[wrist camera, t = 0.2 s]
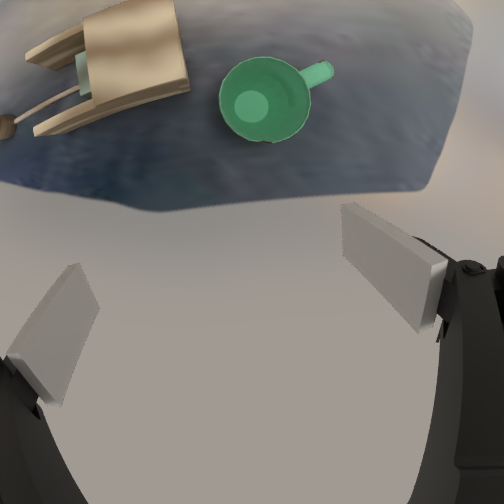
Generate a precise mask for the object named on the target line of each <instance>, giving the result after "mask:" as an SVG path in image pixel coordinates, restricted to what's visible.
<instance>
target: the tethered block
mask: <svg viewBox="0 0 504 504" xmlns="http://www.w3.org/2000/svg"><path fill="white" fill-rule="evenodd" d="M75 60H76V69H77V76H78V83H79V85H77V86H75V87H73V88H70V89H68V90H66V91H64V92H62V93H60V94H58V95H56V96H54V97H52V98H50V99H49V100H47V101H45V102H43V103H41V104H39V105H38V106H36V107H34V108H32V109H31V110H29V111H27V112H26V113H24V114H22V115H21V116H19V117H18V118H15V117H14V116H13V115H0V140H3V139H9V138H11V137H12V136H13V135H14V133H15V131H16V128H17V123H19V122H20V121H22V120H24V119H25V118H27V117H29V116H30V115H32V114H34V113H35V112H37V111H39V110H41V109H43V108H44V107H46V106H48V105H50V104H52V103H54V102H56V101H58V100H60V99H62V98H64V97H66V96H68V95H70V94H72V93H74V92H77V91H79V90H80V96H82V97H87V98H91V99H92V93H91V87H90V81H89V74H88V66H87V59H86V51H84V52H82V53H79V54H77V55H75Z"/></svg>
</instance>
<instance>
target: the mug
mask: <svg viewBox="0 0 504 504" xmlns="http://www.w3.org/2000/svg"><path fill="white" fill-rule="evenodd" d="M333 76H334V69H333V67H332V65H331V64H330V63H329V62H327V61H324V60H323V61H320V62H318V63H316V64H313V65H311V66H309V67H307V68H305V69H303V70H301V71H299V72H298V70H297V69H296V68H295V67H293V66H291V65H290V64H288V63H287V62H285V61H283V60H280V59H276V58H273V57H253V58H250V59H247V60H244V61H242V62H240V63H239V64H237V65H236V66H235V67H233V68H232V69H231V70H230V71H229V72H228V74H227V75H226V77H225V78H224V80H223V81H222V84H221V88H220V92H219V96H218V97H219V107H220V112H221V114H222V116H223V118H224V120H225V122H226V124H227V125H228V126H229V127H230V128H231V129H232V130H233V131H234V132H235V133H236V134H238V135H239V136H241V137H243V138H245V139H247V140H249V141H254V142H259V143H260V142H266V143H278V142H280V141H283V140H285V139H288V138H290V137H292V136H293V135H294V134H295V133H297V132H298V131H299V130H300V129H301V128H302V126H303V125H304V123H305V122H306V120H307V119H308V116H309V112H310V108H311V96H310V90H309V89H310V88H312V87H314V86H316V85H318V84H320V83H322V82H324V81H327V80H329V79H331V78H333Z"/></svg>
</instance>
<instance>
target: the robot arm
mask: <svg viewBox="0 0 504 504" xmlns="http://www.w3.org/2000/svg"><path fill="white" fill-rule="evenodd" d="M341 213H342V238H343V256H344V257H345V258H346V259H347V260H348V261H349V262H350V263H351V264H352V265H353V266H354V267H355V268H356V269H357V270H358V271H359V272H360V273H361V274H362V275H363V276H364V277H365V278H366V279H367V280H368V281H369V282H370V283H371V284H372V285H373V286H374V287H375V288H376V289H377V290H378V291H379V292H380V293H381V295H382V296H383V297H384V298H385V299H386V300H387V301H388V302H389V303H390V304H391V305H392V306H393V307H394V308H395V309H396V310H397V311H398V313H399V314H400V315H401V316H402V317H403V318H404V319H405V320H406V321H407V322H408V323H409V324H410V325H411V327H412V328H413V329H414V330H415V331H416V332H417V333H418V334H419V333H421V332H423V331H425V330H427V329H429V328H431V327H433V325H434V322H435V318H436V314H438V315H440V316H441V318H442V319H443V320H442V324H441V327H440V331H439V334H438V337H437V340H436V342H439V340H440V353H439V367H438V376H437V385H436V394H435V400H434V407H433V413H432V419H431V424H430V430H429V434H428V439H427V443H426V448H425V452H424V455H423V459H422V463H421V467H420V470H419V474H418V477H417V481H416V483H415V486H414V490H413V492H412V495H411V498H410V500H409V502H408V503H407V504H504V256H501V257H500V258H499V259H498V264H497V268H496V269H491V270H487V269H486V267H484V266H483V265H482V264H480V263H478V262H476V261H472V260H462V261H459V262H456V261H455V260H453V259H452V258H450V257H449V256H447V255H446V254H444V253H443V252H441V251H440V250H437V248H435V247H434V246H431V245H430V244H429V243H427V242H425V241H424V240H422V239H420V238H417V237H414V236H411V235H409V234H408V233H406V232H404V231H403V230H401V229H400V228H398V227H396V226H395V225H393V224H391V223H390V222H388V221H386V220H385V219H383V218H381V217H379V216H378V215H376V214H374V213H372V212H371V211H369V210H367V209H365V208H364V207H362V206H360V205H358V204H356V203H349V204H343V205H341ZM99 310H100V307H99V305H98V303H97V301H96V299H95V296H94V294H93V292H92V290H91V288H90V285H89V283H88V281H87V279H86V276H85V274H84V272H83V269H82V267H81V264H80V263H77V264H73V265H70V266H68V267H67V268H66V269H65V270H64V272H63V273H62V274H61V275H60V277H59V278H58V279H57V280H56V282H55V283H54V284H53V286H52V287H51V288H50V289H49V291H48V292H47V293H46V295H45V296H44V298H43V299H42V300H41V302H40V303H39V304H38V306H37V307H36V308H35V310H34V311H33V313H32V314H31V316H30V317H29V318H28V320H27V321H26V323H25V324H24V326H23V328H22V329H21V330H20V332H19V333H18V335H17V336H16V338H15V340H14V341H13V343H12V345H11V346H10V348H9V349H8V351H7V353H6V354H7V355H6V357H5V359H4V360H2V359H1V357H0V504H88V502H87V501H86V499H85V498H84V496H83V494H82V493H81V491H80V489H79V488H78V486H77V484H76V482H75V481H74V479H73V477H72V475H71V473H70V472H69V470H68V468H67V466H66V464H65V462H64V460H63V458H62V456H61V454H60V452H59V450H58V447H57V445H56V443H55V441H54V439H53V436H52V434H51V432H50V429H49V427H48V424H47V422H46V419H45V416H44V414H43V411H42V409H41V407H40V406H39V405H38V404H37V403H36V402H37V399H38V396H39V397H40V398H41V399H42V400H43V401H44V402H45V404H47V406H58V407H60V406H62V403H63V400H64V396H65V394H66V391H67V388H68V385H69V382H70V379H71V377H72V374H73V371H74V369H75V366H76V364H77V361H78V359H79V356H80V353H81V351H82V349H83V346H84V344H85V341H86V339H87V337H88V334H89V332H90V330H91V327H92V325H93V323H94V320H95V318H96V316H97V314H98V312H99Z"/></svg>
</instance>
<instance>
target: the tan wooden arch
mask: <svg viewBox="0 0 504 504" xmlns="http://www.w3.org/2000/svg"><path fill="white" fill-rule="evenodd" d="M84 51H86V59H87V66H88V74H89V81H90V87H91V93H92V99H91V100H88V101H86V102H84V103H81V104H79V105H77V106H75V107H72V108H70V109H68V110H66V111H64V112H62V113H60V114H58V115H56V116H54V117H52V118H50V119H48V120H46V121H44V122H42V123H40V124H39V125H37V126H35V127H33V131H34V136H35V137H36V136H44V135H54V134H65V133H68V132H70V131H72V130H75V129H77V128H79V127H81V126H84V125H86V124H89V123H91V122H93V121H96V120H99V119H101V118H104V117H106V116H109V115H112V114H114V113H117V112H120V111H123V110H126V109H129V108H132V107H135V106H138V105H141V104H144V103H147V102H151V101H154V100H158V99H161V98H165V97H168V96H172V95H176V94H180V93H184V92H188V91H191V89H190V84H189V79H188V74H187V68H186V63H185V58H184V53H183V47H182V42H181V37H180V31H179V26H178V20H177V15H176V11H175V7H174V2H173V0H129V1H126V2H123V3H120V4H117V5H114V6H112V7H109V8H106V9H104V10H101V11H99V12H96V13H94V14H92V15H89V16H87V17H85V18H83V22H82V23H80V24H78V25H76V26H74V27H72V28H70V29H68V30H66V31H64V32H62V33H60V34H58V35H56V36H54V37H52V38H51V39H49V40H47V41H45V42H43V43H42V44H40V45H38V46H37V47H35V48H33V49H32V50H30V51H28V52H27V53H25V61H26V62H30V63H33V64H36V65H40V66H43V67H46V68H49V69H53V70H58V69H60V68H62V67H64V66H66V65H68V64H70V63H72V62H74V61H76V60H75V55H77V54H79V53H82V52H84Z"/></svg>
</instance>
